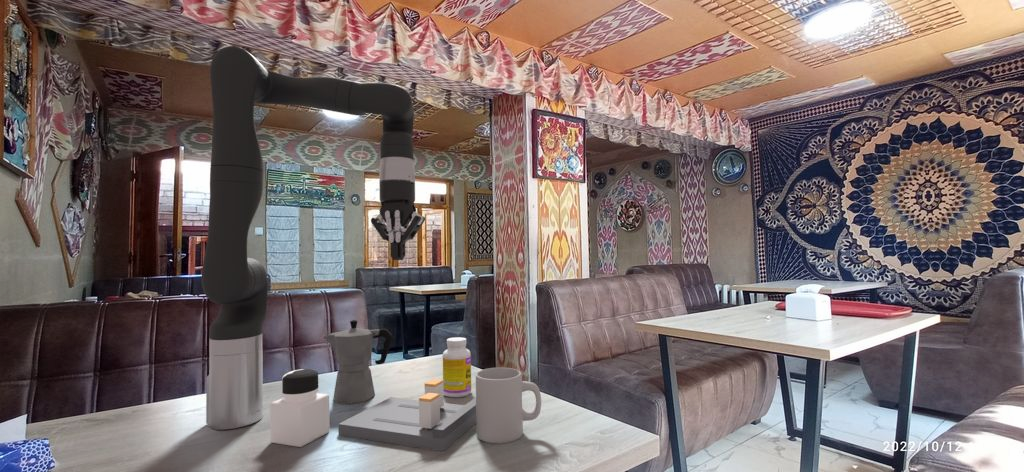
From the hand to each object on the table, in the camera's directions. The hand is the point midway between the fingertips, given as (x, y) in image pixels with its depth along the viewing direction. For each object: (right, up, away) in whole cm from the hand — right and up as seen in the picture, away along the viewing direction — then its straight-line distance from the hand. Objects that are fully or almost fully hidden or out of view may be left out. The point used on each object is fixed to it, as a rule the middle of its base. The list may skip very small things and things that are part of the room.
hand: (398, 260), depth 96 cm
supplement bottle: (+12, -32, +9) cm, 35 cm away
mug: (+24, -31, -15) cm, 42 cm away
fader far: (+9, -29, -7) cm, 31 cm away
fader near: (+10, -29, -16) cm, 34 cm away
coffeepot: (-11, -33, +8) cm, 35 cm away
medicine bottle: (-14, -32, -15) cm, 38 cm away
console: (+6, -32, -10) cm, 34 cm away
